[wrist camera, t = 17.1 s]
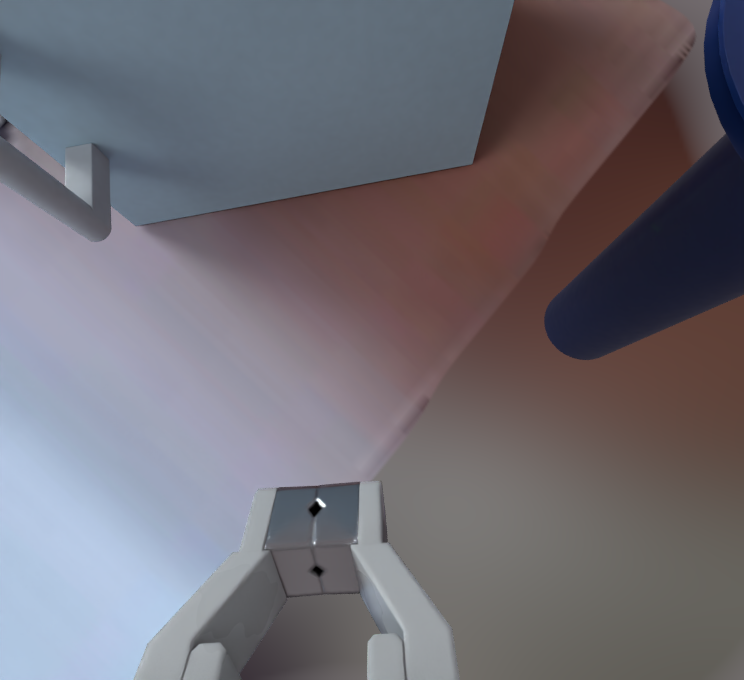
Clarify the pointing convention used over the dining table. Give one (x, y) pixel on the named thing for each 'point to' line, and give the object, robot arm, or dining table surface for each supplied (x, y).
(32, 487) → the dining table surface
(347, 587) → the robot arm
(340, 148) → the cupboard door
